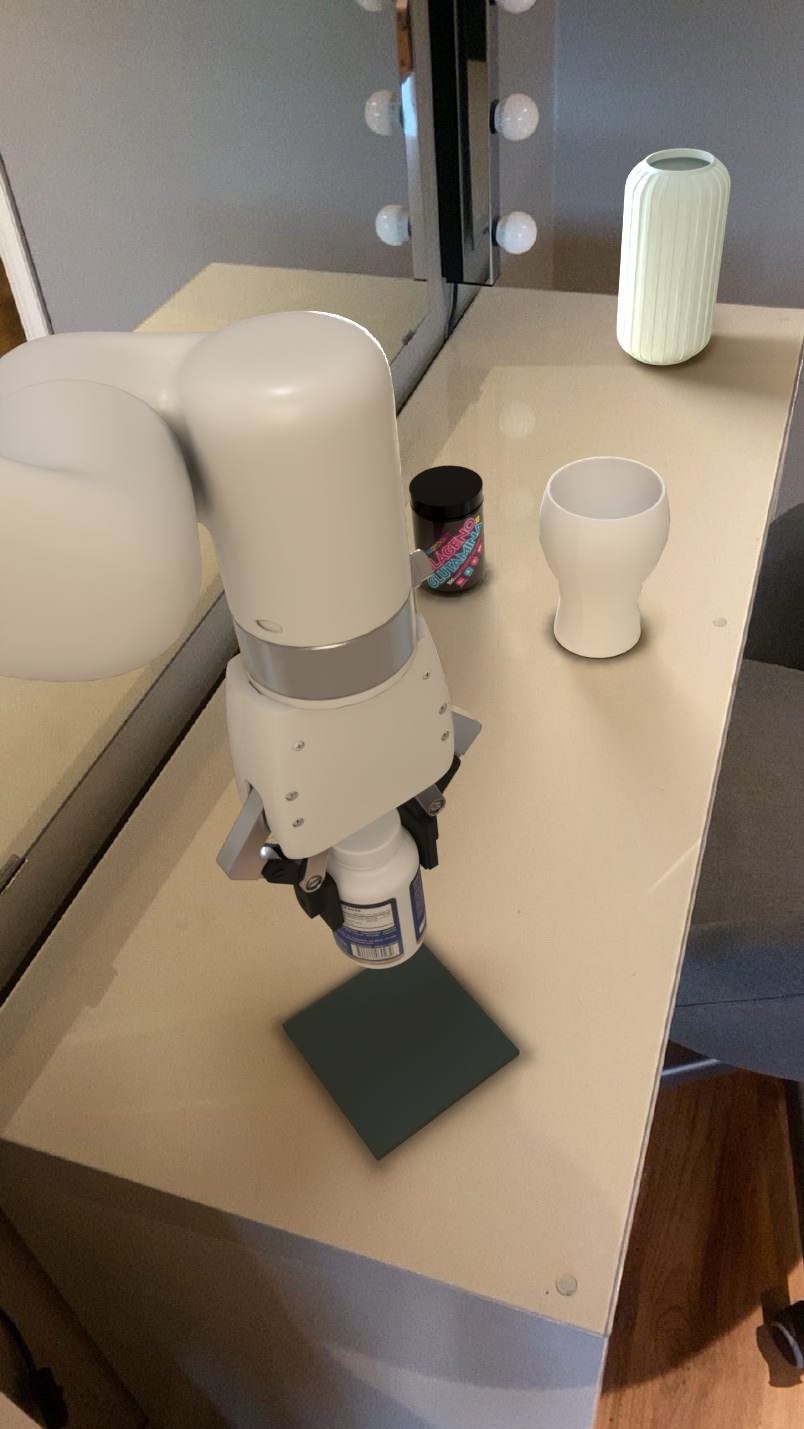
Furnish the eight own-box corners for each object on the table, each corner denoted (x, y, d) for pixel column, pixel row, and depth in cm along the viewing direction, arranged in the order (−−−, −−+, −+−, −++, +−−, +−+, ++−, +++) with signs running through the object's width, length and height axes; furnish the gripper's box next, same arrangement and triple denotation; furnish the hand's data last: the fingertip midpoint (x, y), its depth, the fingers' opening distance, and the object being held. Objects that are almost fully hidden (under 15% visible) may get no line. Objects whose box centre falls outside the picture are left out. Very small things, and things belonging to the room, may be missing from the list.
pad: (377, 1161, 62) (376, 1157, 62) (282, 1028, 69) (281, 1024, 69) (519, 1054, 66) (519, 1050, 66) (417, 938, 73) (416, 934, 73)
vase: (718, 336, 133) (743, 145, 117) (697, 378, 126) (721, 180, 110) (629, 326, 137) (642, 140, 121) (604, 366, 130) (614, 174, 114)
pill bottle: (381, 876, 63) (364, 765, 56) (446, 927, 60) (436, 817, 53) (314, 933, 60) (287, 825, 53) (378, 990, 57) (358, 883, 50)
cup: (681, 625, 94) (700, 481, 84) (607, 687, 89) (618, 541, 79) (587, 579, 100) (594, 438, 89) (513, 635, 95) (511, 493, 85)
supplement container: (405, 590, 101) (395, 497, 94) (435, 551, 105) (428, 459, 98) (468, 606, 99) (464, 512, 91) (497, 565, 103) (495, 472, 95)
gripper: (434, 507, 49) (453, 766, 62) (102, 668, 43) (199, 920, 56) (540, 579, 45) (537, 843, 57) (186, 772, 38) (271, 1021, 51)
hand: (371, 879), depth 56 cm, fingers closed on pill bottle, 5 cm apart
